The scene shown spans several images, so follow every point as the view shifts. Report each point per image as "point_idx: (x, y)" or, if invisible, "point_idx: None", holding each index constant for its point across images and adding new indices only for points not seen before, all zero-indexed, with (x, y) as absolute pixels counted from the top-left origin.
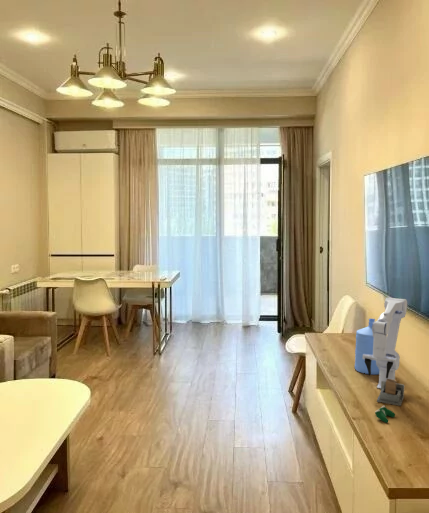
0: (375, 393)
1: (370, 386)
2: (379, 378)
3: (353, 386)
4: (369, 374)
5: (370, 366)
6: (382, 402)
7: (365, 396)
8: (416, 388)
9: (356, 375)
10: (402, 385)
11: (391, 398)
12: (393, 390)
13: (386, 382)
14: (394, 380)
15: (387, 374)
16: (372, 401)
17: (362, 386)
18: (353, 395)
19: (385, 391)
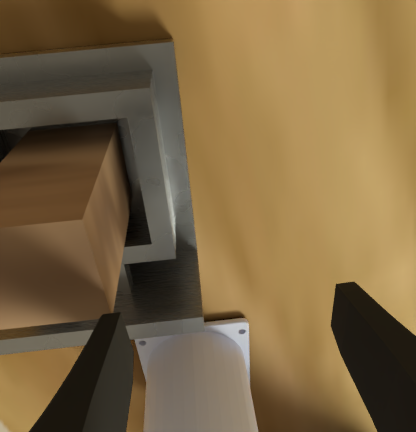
0: (234, 229)
1: (289, 321)
2: (247, 393)
3: (400, 266)
4: (352, 291)
5: (397, 427)
6: (117, 44)
7: (297, 118)
8: None
9: None
10: (1, 334)
11: (25, 89)
12: (6, 173)
13: (75, 209)
14: (2, 308)
15: (87, 357)
16: (213, 18)
17: None
18: (403, 78)
19: (104, 151)
